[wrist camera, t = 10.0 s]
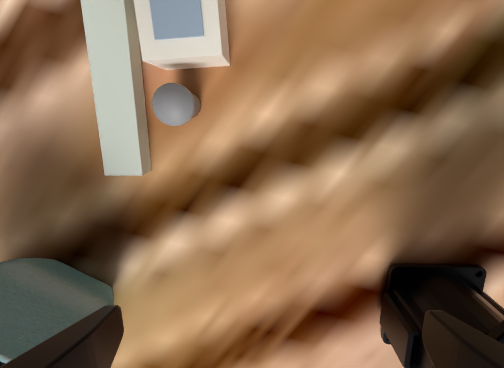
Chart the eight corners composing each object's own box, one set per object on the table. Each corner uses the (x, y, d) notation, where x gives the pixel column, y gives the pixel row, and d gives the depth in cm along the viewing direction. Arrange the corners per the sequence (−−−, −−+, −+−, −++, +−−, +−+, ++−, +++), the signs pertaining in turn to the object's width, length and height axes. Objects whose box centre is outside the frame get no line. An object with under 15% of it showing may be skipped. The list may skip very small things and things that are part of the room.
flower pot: (3, 314, 24) (-148, 435, 15) (35, 224, 22) (-119, 304, 13) (104, 359, 24) (17, 499, 16) (146, 277, 22) (71, 385, 14)
